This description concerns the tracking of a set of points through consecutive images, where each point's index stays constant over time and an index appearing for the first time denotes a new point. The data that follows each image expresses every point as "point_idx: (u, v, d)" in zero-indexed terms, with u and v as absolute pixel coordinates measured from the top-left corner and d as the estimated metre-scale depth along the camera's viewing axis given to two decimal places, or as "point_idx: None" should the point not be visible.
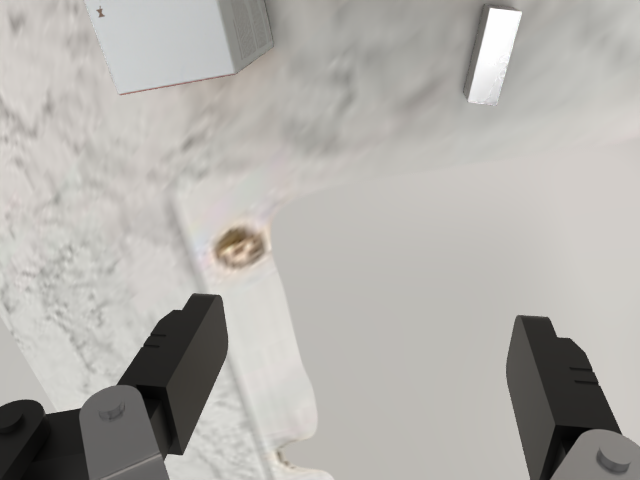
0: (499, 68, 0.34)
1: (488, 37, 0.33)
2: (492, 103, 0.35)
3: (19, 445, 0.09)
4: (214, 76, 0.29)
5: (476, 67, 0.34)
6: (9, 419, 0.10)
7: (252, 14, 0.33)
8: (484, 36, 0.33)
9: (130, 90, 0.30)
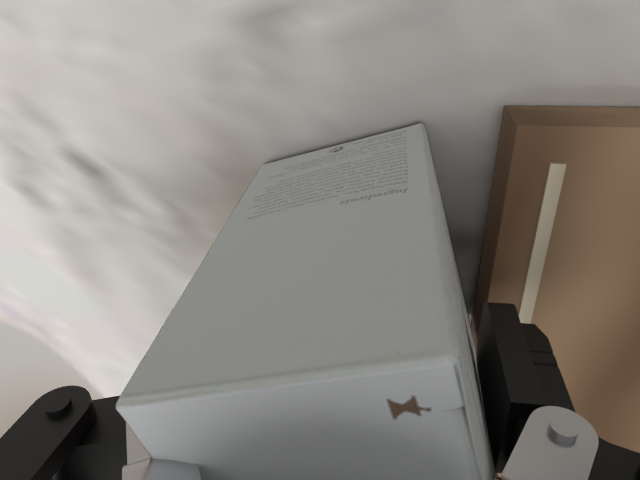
0: None
1: None
2: None
3: (70, 429, 0.10)
4: None
5: None
6: (58, 404, 0.10)
7: None
8: None
9: (146, 445, 0.08)
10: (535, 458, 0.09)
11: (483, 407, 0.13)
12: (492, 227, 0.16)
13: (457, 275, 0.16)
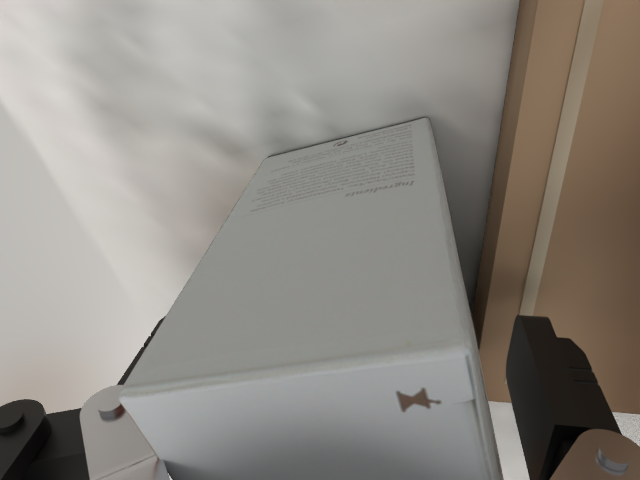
0: None
1: None
2: None
3: (20, 445, 0.09)
4: None
5: None
6: (10, 419, 0.10)
7: None
8: None
9: (148, 437, 0.08)
10: None
11: (487, 404, 0.13)
12: None
13: None
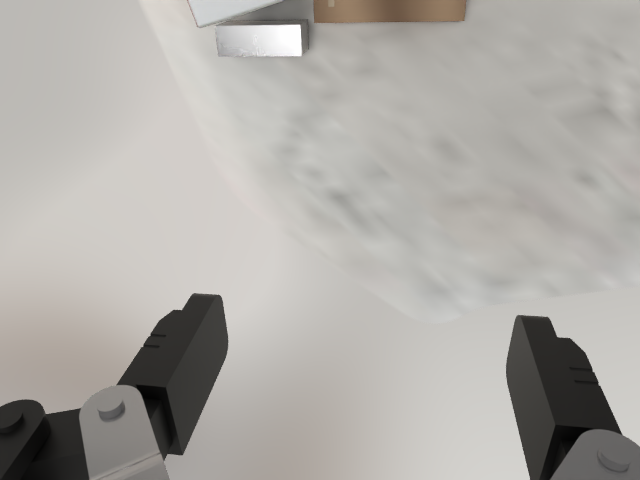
0: (251, 49, 0.35)
1: (275, 29, 0.34)
2: (219, 51, 0.35)
3: (19, 445, 0.09)
4: (189, 2, 0.27)
5: (247, 26, 0.34)
6: (9, 419, 0.10)
7: None
8: (275, 26, 0.34)
9: None
10: None
11: None
12: None
13: None
